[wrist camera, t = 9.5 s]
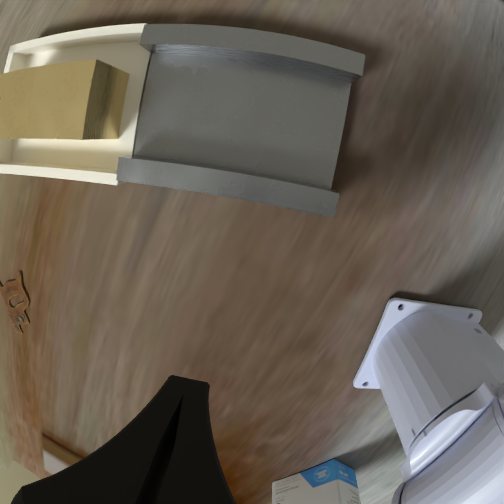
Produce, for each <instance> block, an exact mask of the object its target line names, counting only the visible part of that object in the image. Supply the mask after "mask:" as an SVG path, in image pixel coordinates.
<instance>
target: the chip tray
mask: <svg viewBox="0 0 504 504" xmlns="http://www.w3.org/2000/svg"><path fill="white" fill-rule="evenodd" d="M144 24H147V23H140V24H125V25H114V26H105V27H97V28H89V29H83V30H76V31H71V32H65V33H60V34H55V35H51V36H46V37H42V38H38V39H34V40H30V41H26V42H23V43H19V44H16V45H12V46H10V50H9V53H8V57H7V61H6V65H5V70H4V73H7V72H12V71H16V70H21V69H26V68H31V67H36V66H44V65H50V64H57V63H64V62H72V61H81V60H92V59H97V60H100V61H102V62H104V63H107V64H109V65H111V66H113V67H116V68H118V69H120V70H122V71H124V72H127V73H129V74H130V75H129V79H128V84H127V89H126V95H125V100H124V106H123V112H122V118H121V124H120V131H119V138H118V139H94V140H73V139H26V138H20V139H0V173H7V174H19V175H30V176H41V177H51V178H60V179H70V180H79V181H87V182H95V183H104V184H111V185H120V184H123V183H126V182H125V181H117V180H116V177H117V167H118V158H119V157H124V156H132V155H134V151H135V144H136V137H137V130H138V124H139V117H140V111H141V106H142V100H143V95H144V90H145V85H146V80H147V75H148V70H149V66H150V61H151V57H152V54H151V53H150V52H149V51H147V50H146V49H145V48H143V47H142V46H141V45H139V43H140V39H141V35H142V31H143V28H144Z"/></svg>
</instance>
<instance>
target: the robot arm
mask: <svg viewBox="0 0 504 504" xmlns="http://www.w3.org/2000/svg"><path fill="white" fill-rule="evenodd" d="M400 304H402V306H401V307H400V308H398V306H399V305H400ZM469 314H470V315H469ZM481 318H482V312H481V311H480V310H479V309H472V308H465V307H457V306H450V305H443V304H436V303H429V302H423V301H416V300H409V299H402V298H392V299H390V300H389V301H388V303H387V305H386V308H385V310H384V313H383V315H382V318H381V320H380V323H379V325H378V328H377V330H376V332H375V335H374V337H373V339H372V342H371V344H370V346H369V348H368V351H367V353H366V355H365V357H364V359H363V361H362V364H361V366H360V368H359V370H358V372H357V374H356V376H355V378H354V380H353V384H354V387H356V388H372V389H381V391H382V393H383V396H384V398H385V401H386V403H387V406H388V408H389V411H390V413H391V416H392V419H393V421H394V424H395V427H396V429H397V432H398V435H399V437H400V440H401V443H402V446H403V448H404V451H405V454H406V457H407V460H406V462H405V463H404V464H403V465H402V466H401V467H400V471H401V474H402V477H403V480H404V482H403V483H402V484H400V485H399V487H398V488H397V490H396V491H395V493H394V496H393V499H392V503H391V504H504V350H503V349H502V348H501V347H500V346H499V345H498V344H497V342H496V341H495V340H494V339H493V338H492V337H491V336H490V335H489V334H488V333H487V332H486V331H485V330H484V329H483V328H482V327H481V325H480V324H479V322H480V320H481ZM364 382H366V383H364ZM209 388H210V385H209V384H208V383H207V382H203V381H198V380H193V379H188V378H183V377H179V376H174V375H171V376H169V377H168V379H167V380H166V382H165V383H164V385H163V386H162V387H161V389H160V390H159V391H158V393H157V394H156V395H155V396H154V397H153V399H152V400H151V401H150V402H149V403H148V404H147V405H146V406H145V408H144V409H143V410H142V411H141V412H140V413H139V414H138V415H137V416H136V417H135V418H134V419H133V420H132V421H131V422H130V423H129V424H128V425H127V426H126V427H125V428H123V429H122V430H121V431H120V432H119V433H118V434H117V435H116V436H114V437H113V438H112V439H111V440H109V441H108V442H107V443H105V444H104V445H103V446H102V447H100V448H99V449H97V450H96V451H94V452H93V453H91V454H90V455H88V456H87V457H85V458H84V459H82V460H80V461H79V462H77V463H75V464H74V465H72V466H70V467H68V468H66V469H64V470H62V471H60V472H58V473H56V474H54V475H51V476H49V477H47V478H44V479H41V480H39V481H36V482H33V483H31V484H28V485H25V486H22V487H21V489H20V490H19V491H18V493H17V494H16V495H15V497H14V498H13V500H12V502H11V504H236V503H235V501H234V499H233V496H232V494H231V492H230V490H229V487H228V485H227V482H226V480H225V477H224V474H223V471H222V469H221V466H220V462H219V459H218V456H217V452H216V448H215V444H214V440H213V435H212V429H211V423H210V416H209V403H208V396H209Z"/></svg>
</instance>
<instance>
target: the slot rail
mask: <svg viewBox="0 0 504 504" xmlns="http://www.w3.org/2000/svg"><path fill="white" fill-rule="evenodd" d="M139 45H141V46H142V47H143V48H145V49H146V50H147V51H149V52H150V53H151V54H152V57H151V61H150V66H149V70H148V75H147V80H146V85H145V90H144V95H143V100H142V106H141V111H140V117H139V124H138V130H137V137H136V144H135V151H134V155H132V156H124V157H119V158H118V167H117V177H116V180H117V181H125V182H132V183H140V184H147V185H154V186H161V187H168V188H175V189H182V190H188V191H195V192H201V193H207V194H213V195H219V196H225V197H231V198H236V199H242V200H248V201H253V202H259V203H264V204H269V205H275V206H280V207H285V208H290V209H295V210H300V211H305V212H310V213H315V214H320V215H324V216H329V217H334V216H335V212H336V208H337V204H338V199H339V195H340V193H338V192H337V191H335V190H333V189H332V188H331V186H332V182H333V177H334V172H335V168H336V163H337V158H338V153H339V148H340V143H341V138H342V133H343V128H344V123H345V117H346V112H347V106H348V100H349V95H350V89H351V83H353V82H354V81H356V80H357V79H359V78H360V77H362V76H363V69H364V62H365V55H364V54H361V53H358V52H355V51H352V50H348V49H345V48H341V47H338V46H334V45H330V44H326V43H322V42H318V41H314V40H310V39H305V38H301V37H296V36H291V35H286V34H280V33H274V32H268V31H261V30H254V29H247V28H238V27H228V26H216V25H199V24H144V28H143V31H142V35H141V39H140V43H139Z"/></svg>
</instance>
